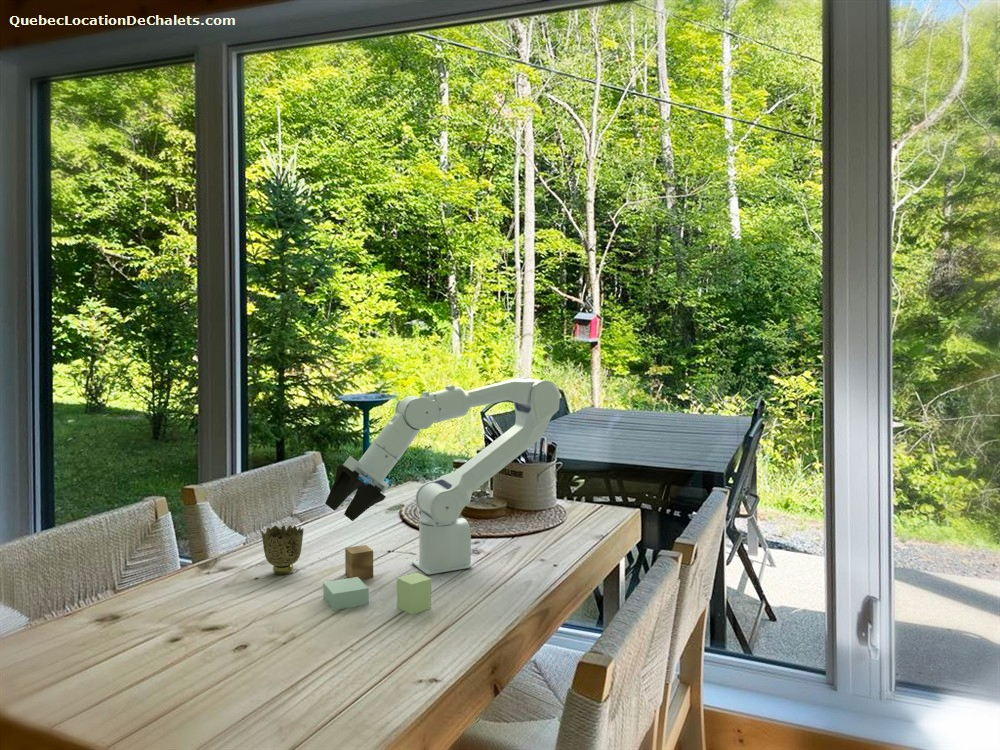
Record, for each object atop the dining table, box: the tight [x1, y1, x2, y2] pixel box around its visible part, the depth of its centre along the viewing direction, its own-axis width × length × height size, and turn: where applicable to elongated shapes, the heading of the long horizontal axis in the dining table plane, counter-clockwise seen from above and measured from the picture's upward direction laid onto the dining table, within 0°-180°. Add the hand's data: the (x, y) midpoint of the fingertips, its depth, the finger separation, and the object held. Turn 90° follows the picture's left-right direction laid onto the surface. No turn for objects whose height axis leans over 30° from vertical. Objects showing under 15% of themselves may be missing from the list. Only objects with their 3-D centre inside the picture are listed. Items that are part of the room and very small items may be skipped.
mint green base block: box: [322, 577, 370, 611], centre depth 128 cm, size 6×6×3 cm
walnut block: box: [344, 544, 374, 580], centre depth 140 cm, size 4×4×5 cm
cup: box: [261, 524, 304, 575], centre depth 141 cm, size 8×7×8 cm
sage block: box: [396, 572, 432, 615], centre depth 125 cm, size 4×4×5 cm
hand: (339, 512), depth 137 cm, fingers open, 7 cm apart
